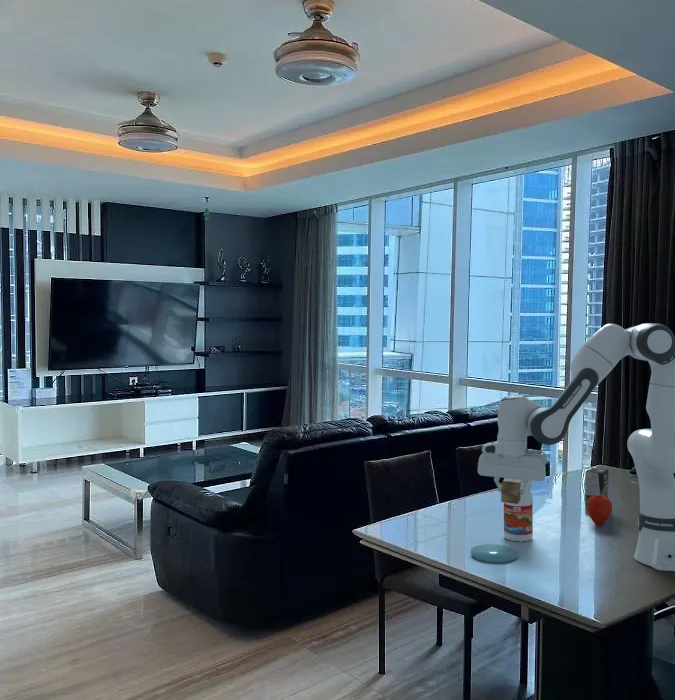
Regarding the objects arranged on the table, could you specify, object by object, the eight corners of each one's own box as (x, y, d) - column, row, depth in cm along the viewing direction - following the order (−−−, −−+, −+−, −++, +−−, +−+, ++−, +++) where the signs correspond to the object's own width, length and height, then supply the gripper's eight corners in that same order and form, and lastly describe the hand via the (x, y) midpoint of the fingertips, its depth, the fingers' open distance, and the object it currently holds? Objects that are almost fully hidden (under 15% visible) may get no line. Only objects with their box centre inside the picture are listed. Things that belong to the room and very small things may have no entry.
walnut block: (520, 500, 211) (520, 480, 211) (517, 503, 207) (518, 484, 206) (504, 498, 213) (504, 479, 213) (501, 501, 209) (501, 482, 208)
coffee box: (602, 516, 253) (602, 473, 252) (584, 513, 257) (584, 471, 256) (609, 510, 260) (609, 468, 260) (592, 508, 264) (591, 467, 264)
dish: (520, 551, 217) (520, 547, 217) (512, 565, 204) (512, 561, 204) (476, 545, 222) (476, 542, 222) (466, 559, 210) (466, 555, 210)
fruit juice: (534, 535, 232) (534, 453, 231) (530, 543, 223) (529, 459, 222) (506, 532, 236) (506, 452, 235) (501, 540, 227) (500, 457, 226)
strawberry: (614, 529, 237) (614, 498, 237) (588, 528, 239) (588, 497, 239) (609, 522, 246) (609, 492, 245) (585, 521, 247) (585, 491, 247)
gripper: (548, 449, 208) (547, 494, 208) (481, 443, 216) (480, 486, 217) (545, 452, 202) (544, 498, 203) (476, 446, 211) (475, 491, 211)
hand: (510, 492), depth 210 cm, fingers closed on walnut block, 5 cm apart
